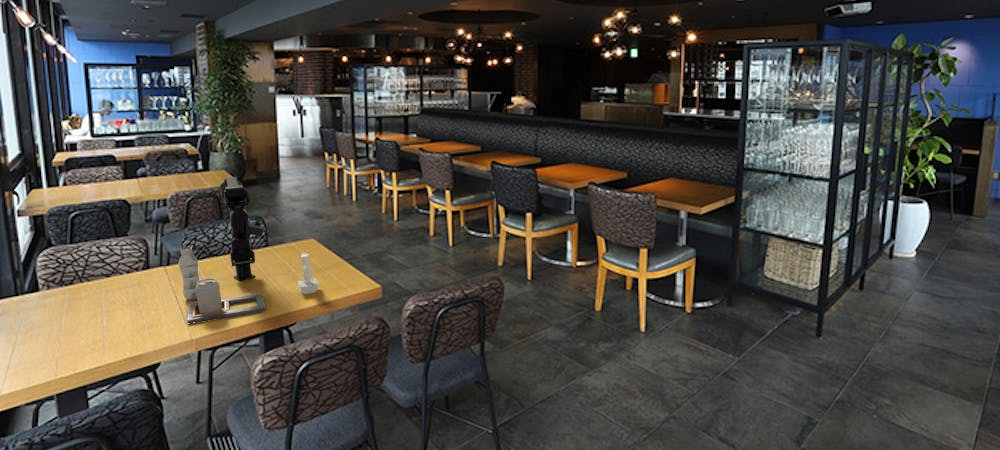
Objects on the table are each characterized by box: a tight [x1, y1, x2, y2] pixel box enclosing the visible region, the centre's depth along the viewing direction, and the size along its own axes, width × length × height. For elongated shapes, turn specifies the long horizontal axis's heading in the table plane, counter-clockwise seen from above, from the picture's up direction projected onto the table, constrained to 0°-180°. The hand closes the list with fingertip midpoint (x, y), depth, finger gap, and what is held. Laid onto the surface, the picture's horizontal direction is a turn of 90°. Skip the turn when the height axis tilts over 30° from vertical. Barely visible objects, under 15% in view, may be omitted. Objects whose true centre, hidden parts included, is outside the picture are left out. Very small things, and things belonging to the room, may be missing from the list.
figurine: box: [296, 252, 320, 295], centre depth 230 cm, size 7×9×15 cm
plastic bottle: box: [177, 246, 200, 301], centre depth 224 cm, size 6×7×20 cm
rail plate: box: [186, 292, 267, 324], centre depth 216 cm, size 25×15×2 cm, turn 115°
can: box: [196, 278, 223, 314], centre depth 212 cm, size 8×8×12 cm
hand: (243, 258), depth 231 cm, fingers open, 9 cm apart
